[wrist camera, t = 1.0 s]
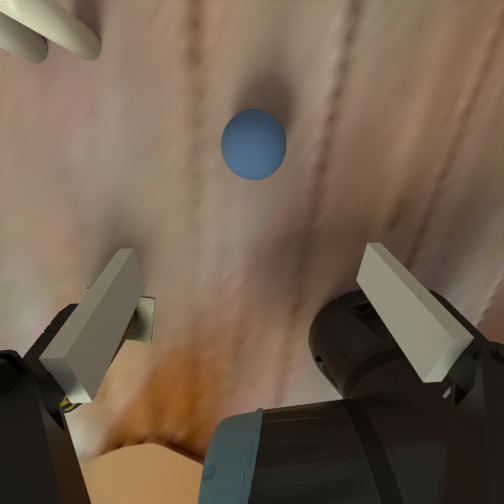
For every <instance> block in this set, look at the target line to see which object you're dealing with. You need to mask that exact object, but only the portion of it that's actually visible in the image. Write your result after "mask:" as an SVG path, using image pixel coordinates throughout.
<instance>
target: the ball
mask: <svg viewBox="0 0 504 504" xmlns="http://www.w3.org/2000/svg"><path fill="white" fill-rule="evenodd" d="M221 148H222V154H223V157H224V160H225V162H226V164H227V165H228V167H229V168H230V169H231V170H232V171H233V172H234V173H235V174H236V175H238V176H240V177H242V178H245V179H249V180H259V179H263V178H266V177H268V176H270V175H271V174H272V173H274V172H275V171H276V170H277V169H278V167H279V166H280V165H281V163H282V161H283V159H284V156H285V152H286V137H285V133H284V131H283V128H282V126H281V125H280V123H279V122H278V120H277V119H276V118H275V117H273V116H272V115H271V114H269V113H267V112H265V111H262V110H257V109H251V110H246V111H243V112H240V113H239V114H237V115H236V116H234V117H233V118H232V119H231V120H230V121H229V123H228V124H227V126H226V127H225V130H224V132H223V136H222V141H221Z"/></svg>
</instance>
